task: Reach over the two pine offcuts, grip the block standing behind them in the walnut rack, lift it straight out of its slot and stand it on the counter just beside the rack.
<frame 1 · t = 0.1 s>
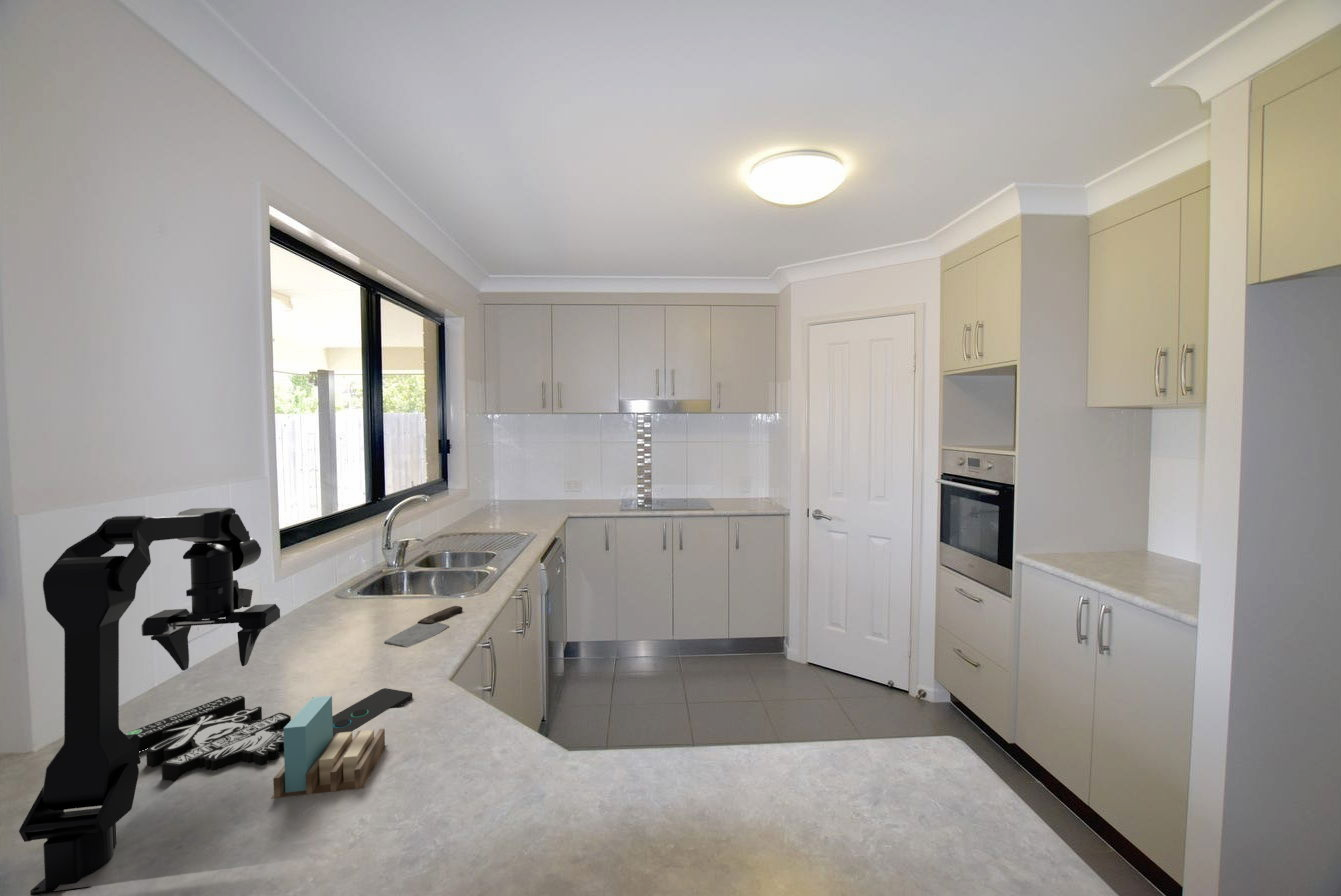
hand: (215, 667, 99), 15 cm above the countertop, tool pointing down, fingers open, 9 cm apart
cleaver: (431, 629, 161), on the countertop
rack: (333, 775, 92), on the countertop
offcut front: (359, 766, 92), point 1 cm above the countertop, touching rack
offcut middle: (337, 769, 92), point 1 cm above the countertop, touching rack
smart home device: (359, 721, 110), on the countertop
sign: (219, 750, 100), on the countertop
block: (310, 772, 91), point 1 cm above the countertop, touching rack
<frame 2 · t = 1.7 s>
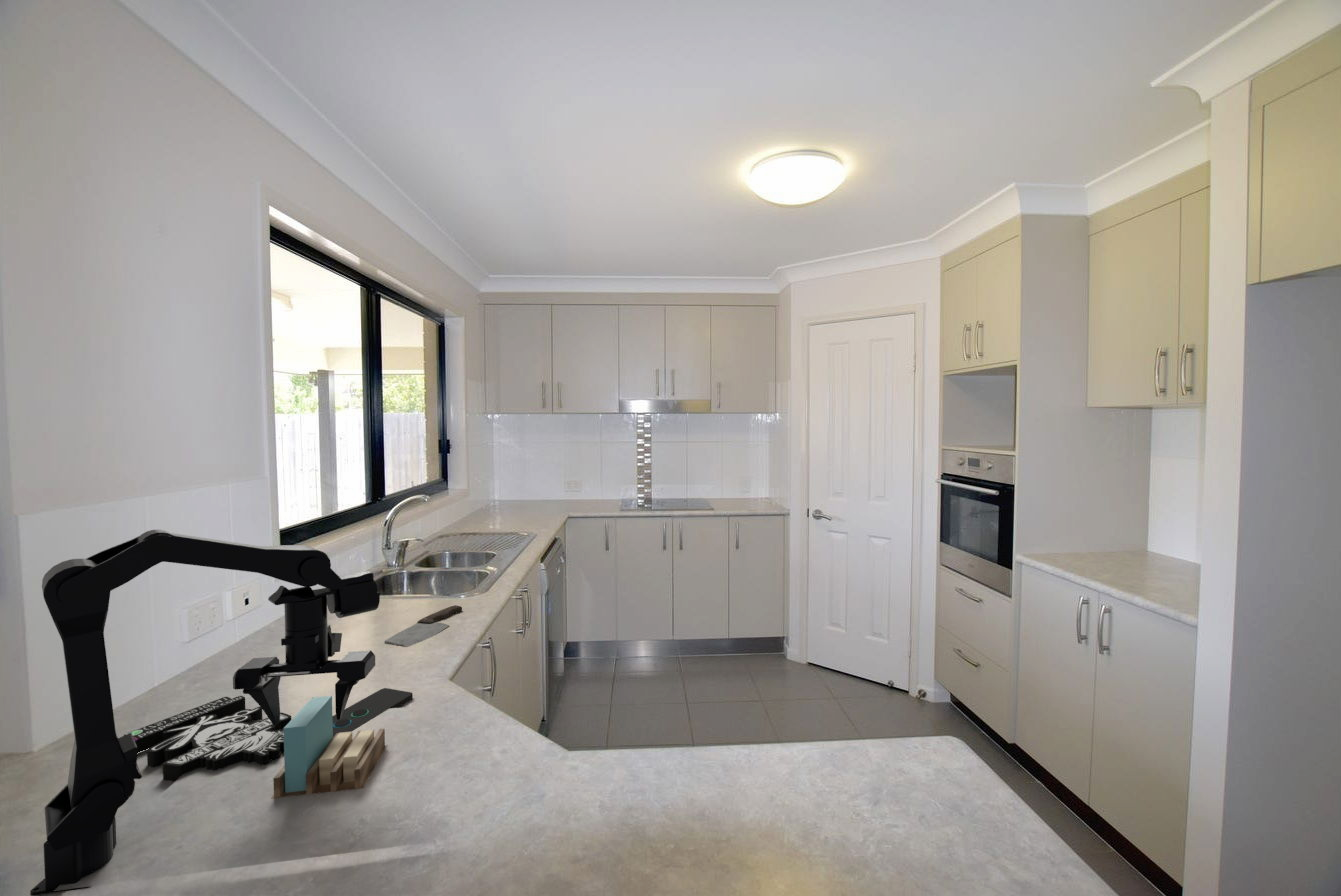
hand: (308, 721, 91), 9 cm above the countertop, tool pointing down, fingers open, 9 cm apart
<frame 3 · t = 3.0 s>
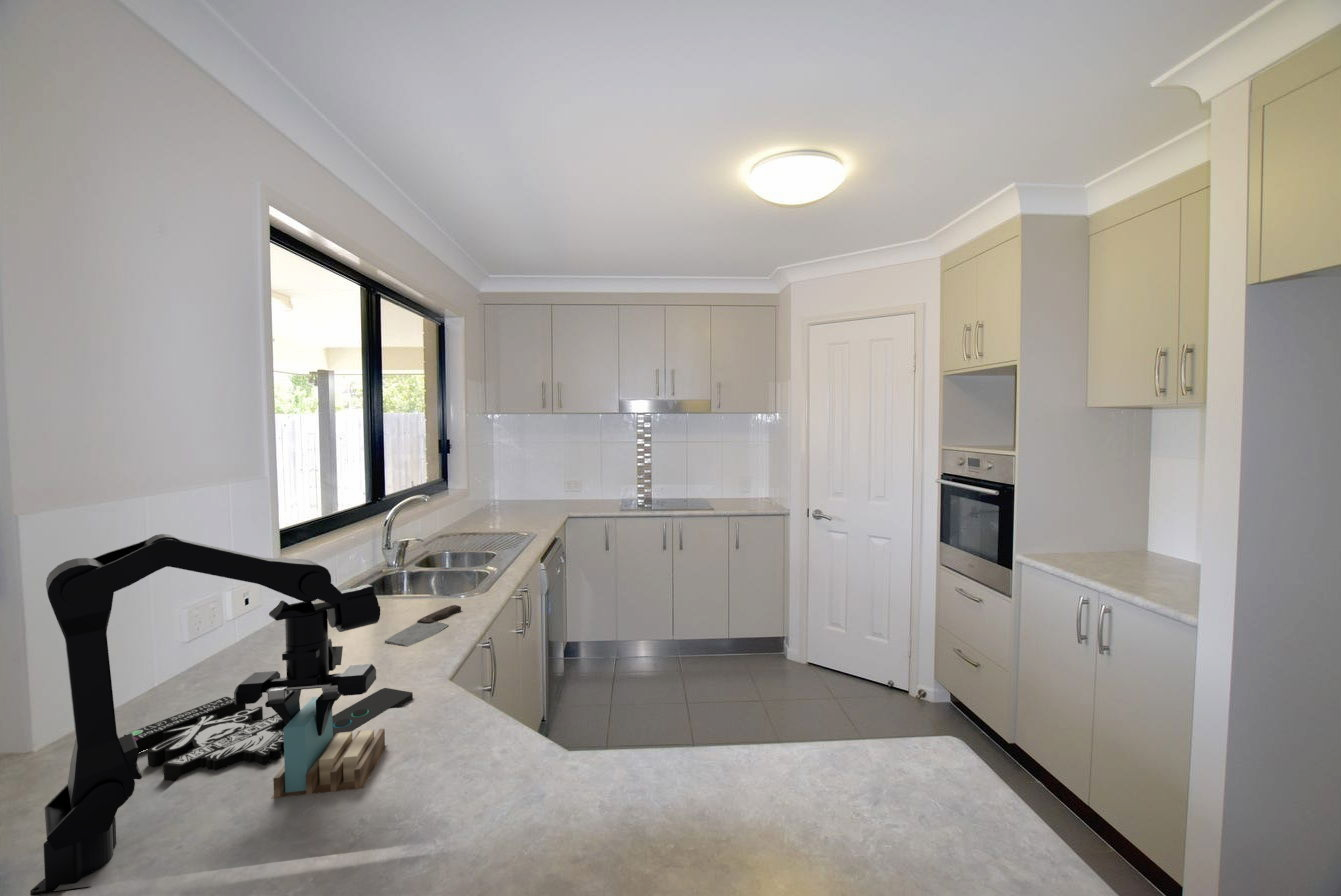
hand: (309, 735, 91), 7 cm above the countertop, tool pointing down, fingers closed on block, 3 cm apart
block: (310, 771, 91), point 1 cm above the countertop, touching gripper, rack
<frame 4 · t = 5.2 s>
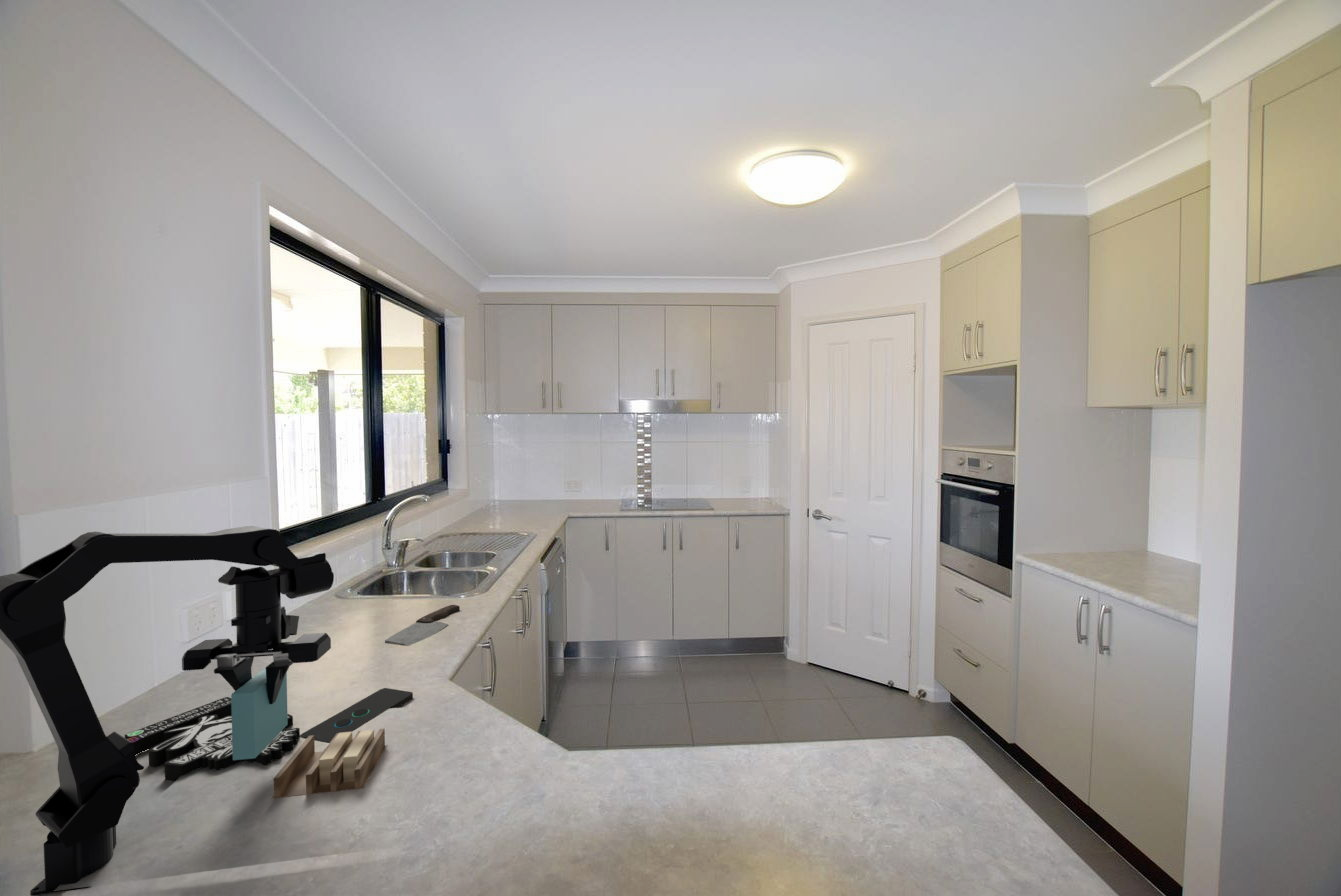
hand: (260, 704, 89), 13 cm above the countertop, tool pointing down, fingers closed on block, 3 cm apart
block: (261, 741, 89), point 7 cm above the countertop, touching gripper
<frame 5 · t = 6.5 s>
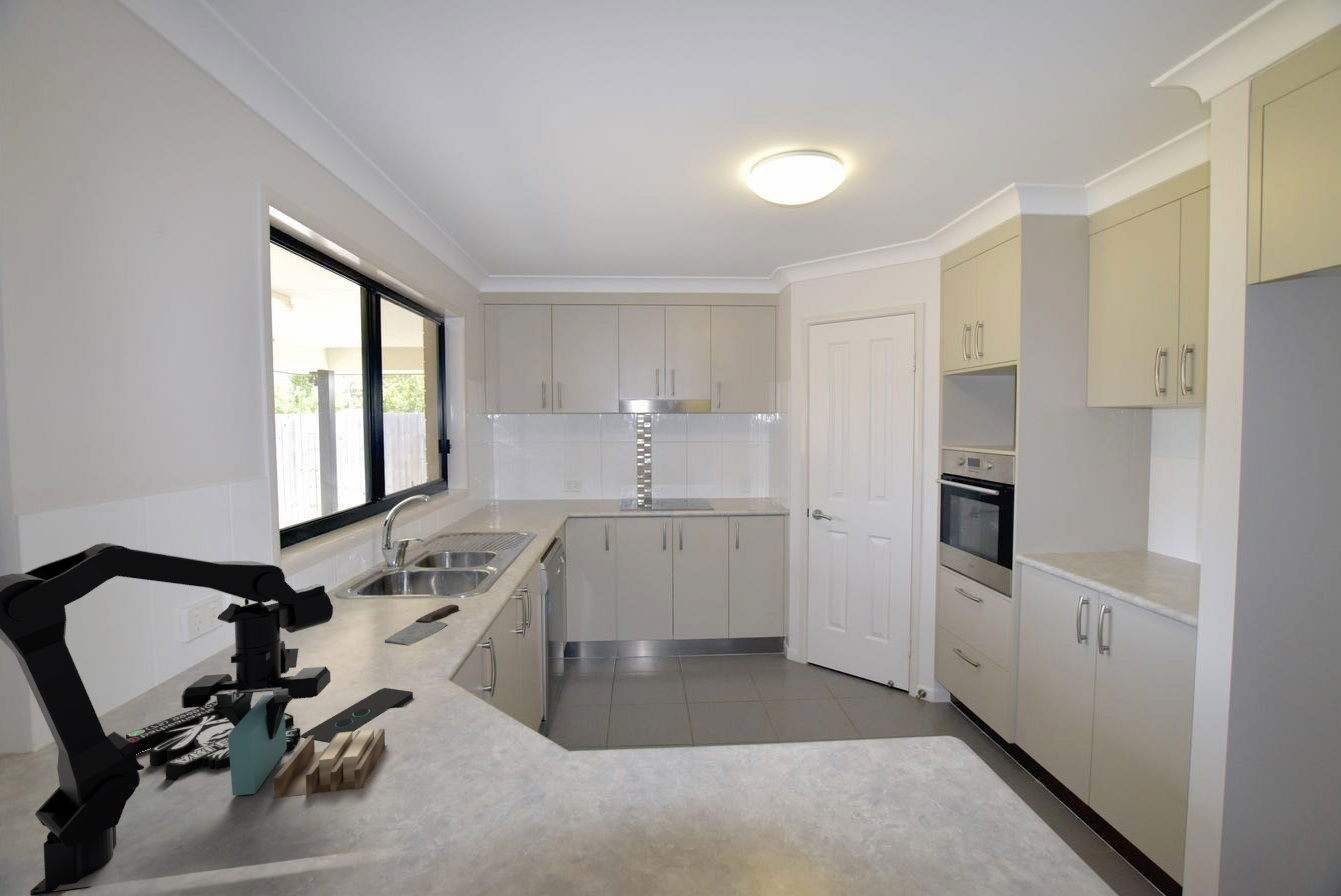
hand: (260, 739, 89), 7 cm above the countertop, tool pointing down, fingers closed on block, 3 cm apart
sign: (222, 750, 100), on the countertop, touching block
block: (261, 770, 90), point 2 cm above the countertop, tilted 8°, touching gripper, sign
when the fingers open (7 cm above the countertop, at t = 7.2 s): block stays where it is, point 1 cm above the countertop.
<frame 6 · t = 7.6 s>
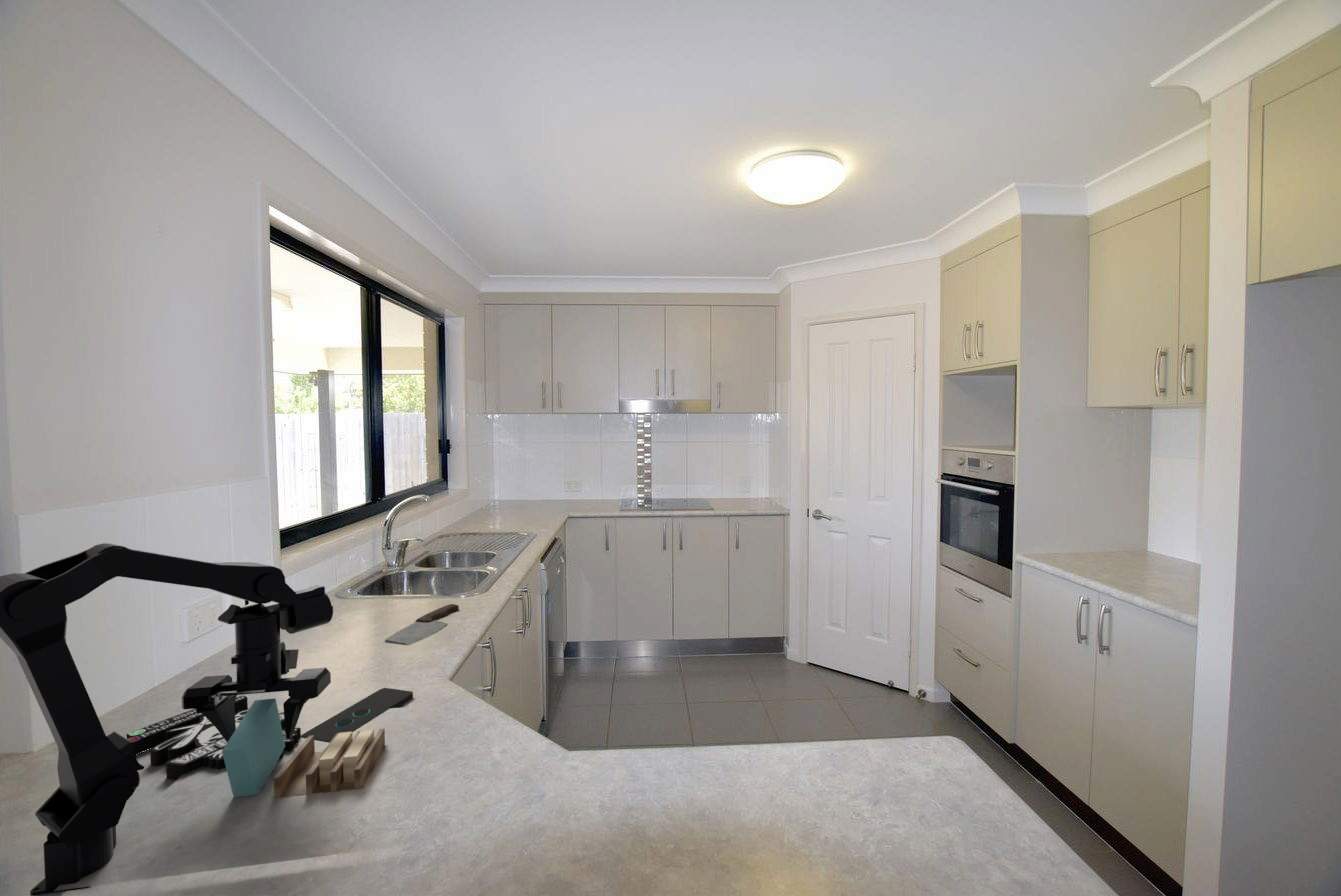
hand: (261, 740, 89), 7 cm above the countertop, tool pointing down, fingers open, 8 cm apart
sign: (223, 750, 100), on the countertop
block: (261, 772, 90), point 1 cm above the countertop, tilted 17°
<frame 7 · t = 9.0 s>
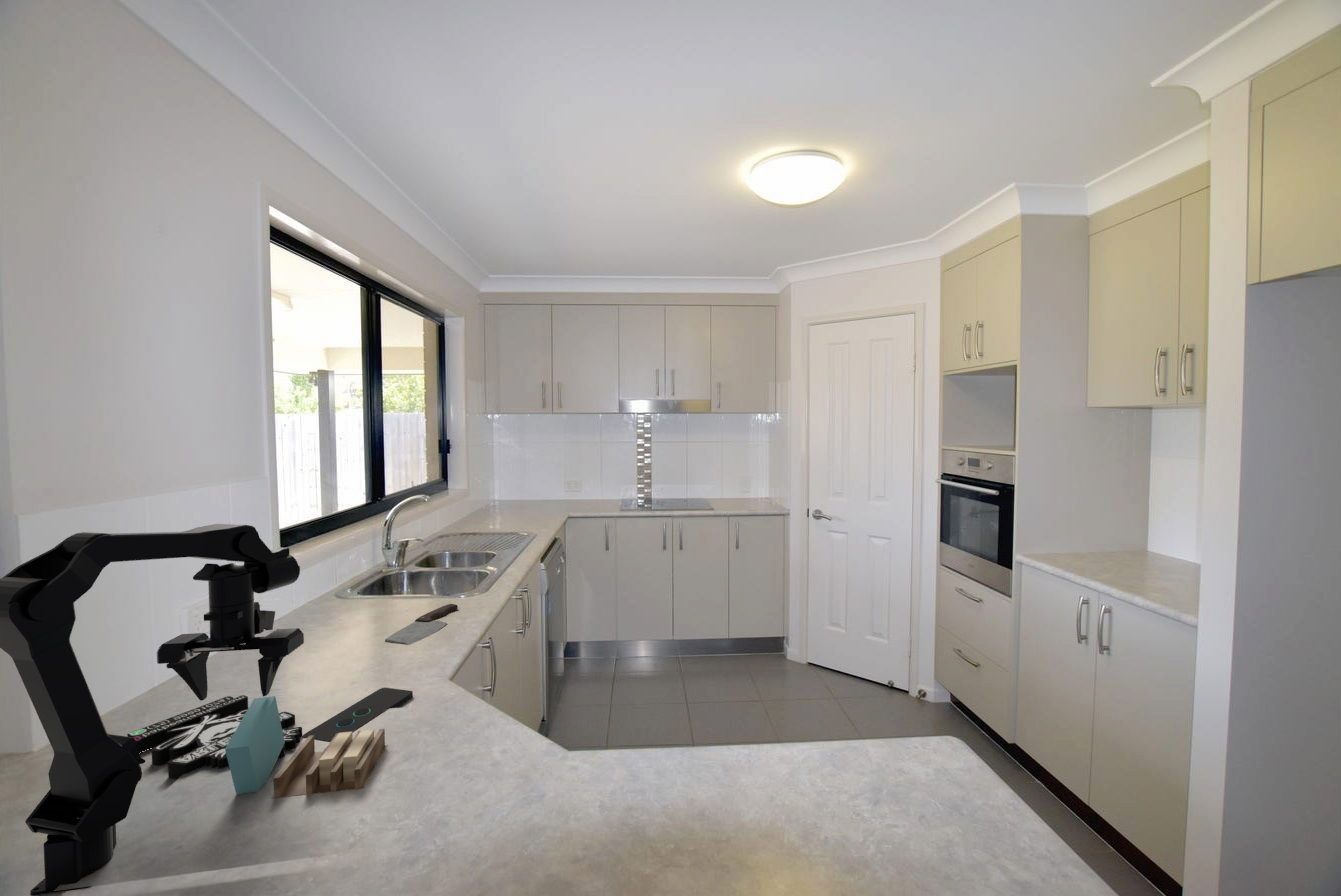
hand: (234, 697, 91), 13 cm above the countertop, tool pointing down, fingers open, 9 cm apart
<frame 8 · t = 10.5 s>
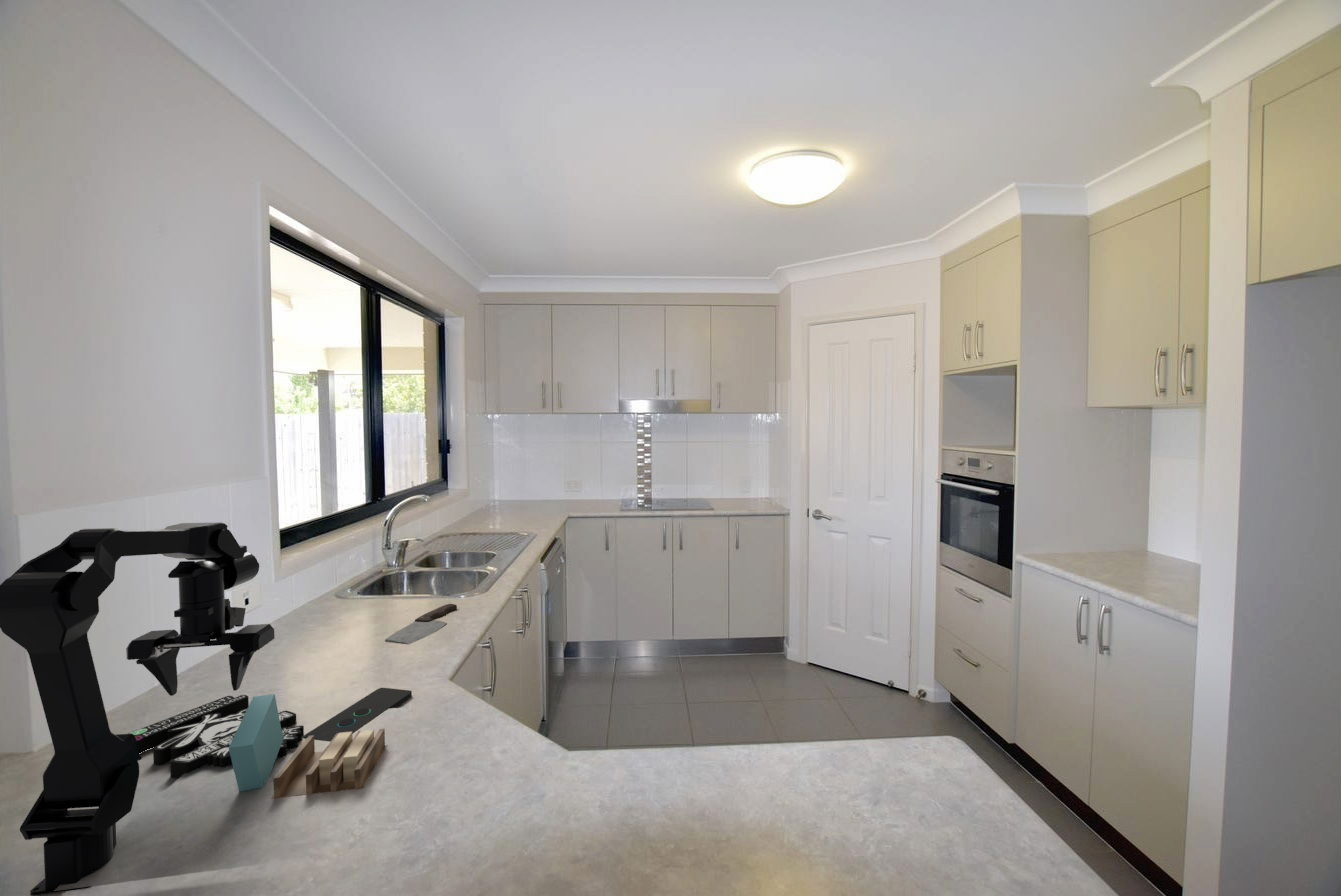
hand: (205, 692, 93), 13 cm above the countertop, tool pointing down, fingers open, 9 cm apart
sign: (226, 748, 101), on the countertop, touching block
block: (262, 766, 91), point 2 cm above the countertop, tilted 20°, touching sign
at the end: block inside the target area (2.2 cm from its centre), point 1.7 cm above the countertop; block touching countertop; block tilted 19° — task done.
